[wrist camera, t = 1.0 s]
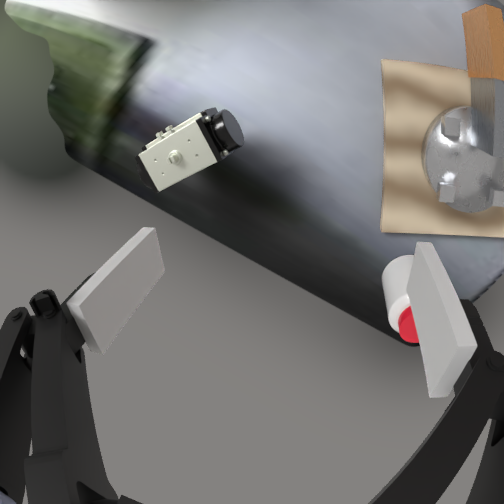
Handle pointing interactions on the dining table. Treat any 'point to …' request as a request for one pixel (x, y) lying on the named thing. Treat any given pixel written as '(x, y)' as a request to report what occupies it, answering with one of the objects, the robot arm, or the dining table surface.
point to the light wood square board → (410, 146)
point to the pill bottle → (399, 297)
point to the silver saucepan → (472, 124)
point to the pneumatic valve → (188, 148)
